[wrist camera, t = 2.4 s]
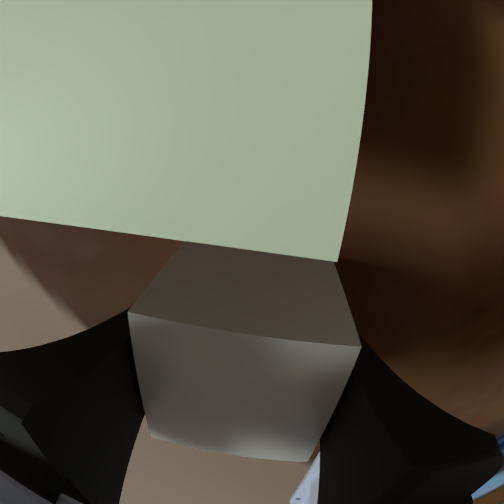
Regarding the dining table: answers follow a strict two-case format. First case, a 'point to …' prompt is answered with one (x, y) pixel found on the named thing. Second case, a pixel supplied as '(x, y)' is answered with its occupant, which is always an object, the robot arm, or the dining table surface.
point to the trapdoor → (185, 118)
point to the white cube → (242, 350)
